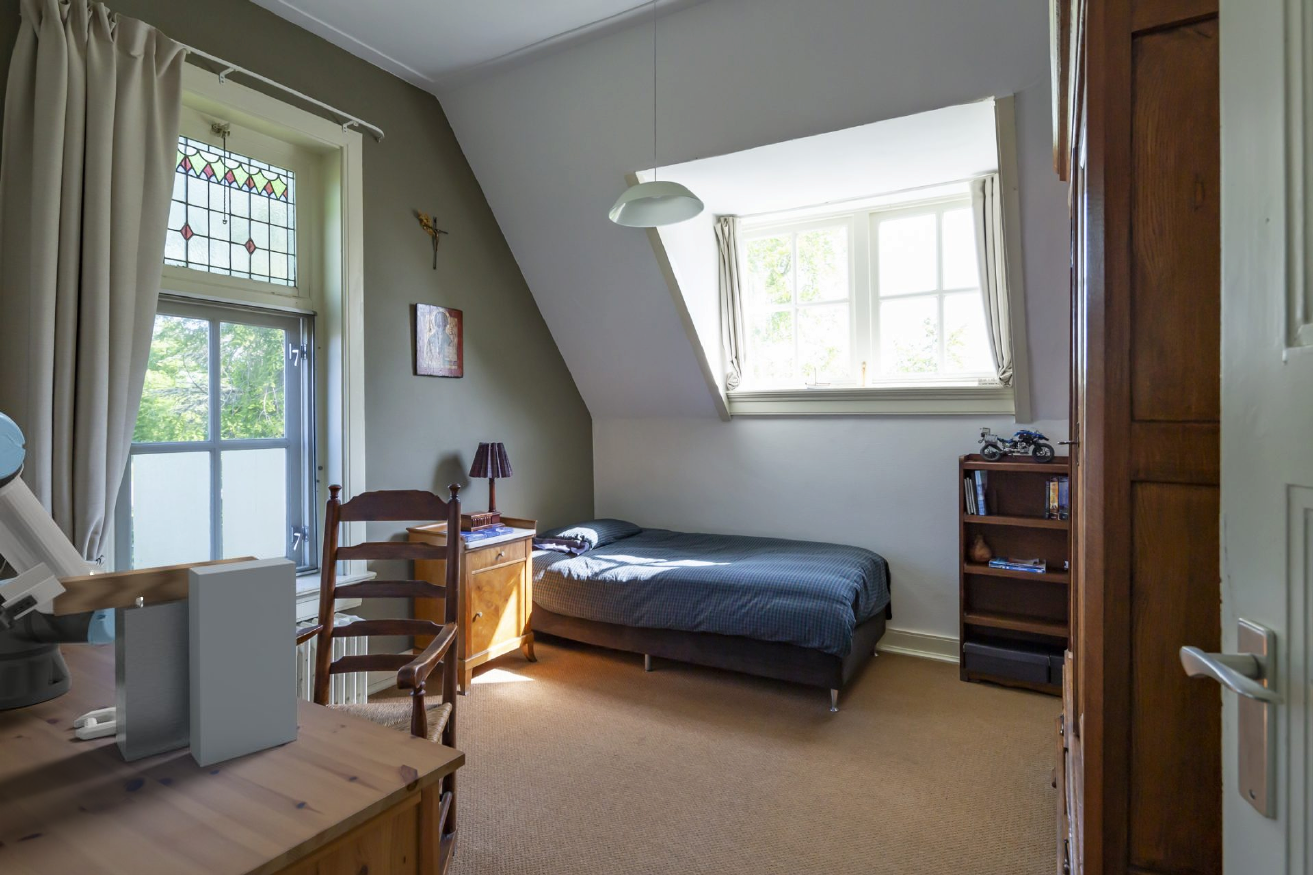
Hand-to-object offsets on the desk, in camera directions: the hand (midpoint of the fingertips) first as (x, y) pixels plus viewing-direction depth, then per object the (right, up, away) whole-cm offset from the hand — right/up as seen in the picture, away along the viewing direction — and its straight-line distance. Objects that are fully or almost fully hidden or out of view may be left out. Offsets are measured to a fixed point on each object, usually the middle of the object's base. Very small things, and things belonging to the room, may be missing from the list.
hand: (54, 575), depth 110 cm
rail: (+10, -6, +10) cm, 15 cm away
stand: (+24, -30, +9) cm, 39 cm away
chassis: (+11, -30, +12) cm, 34 cm away
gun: (0, -30, +17) cm, 35 cm away
